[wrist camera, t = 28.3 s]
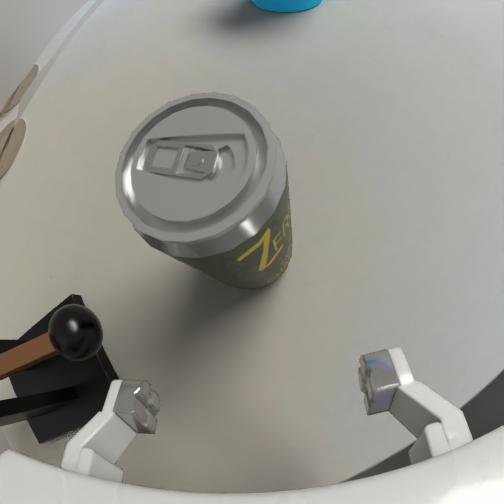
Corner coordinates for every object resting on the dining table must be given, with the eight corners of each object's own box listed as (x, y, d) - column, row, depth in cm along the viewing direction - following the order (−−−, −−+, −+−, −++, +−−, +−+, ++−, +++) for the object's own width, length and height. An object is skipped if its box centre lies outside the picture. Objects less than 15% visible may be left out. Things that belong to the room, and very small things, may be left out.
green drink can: (201, 279, 20) (86, 230, 8) (222, 203, 21) (146, 87, 9) (281, 299, 19) (259, 272, 7) (300, 218, 20) (300, 95, 8)
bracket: (80, 295, 21) (-59, 266, 9) (132, 401, 19) (-7, 454, 6) (9, 354, 21) (-97, 352, 9) (47, 440, 19) (-58, 472, 6)
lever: (93, 305, 17) (84, 286, 14) (115, 352, 16) (108, 342, 13) (-55, 374, 10) (-81, 366, 8) (-40, 420, 10) (-66, 419, 7)
